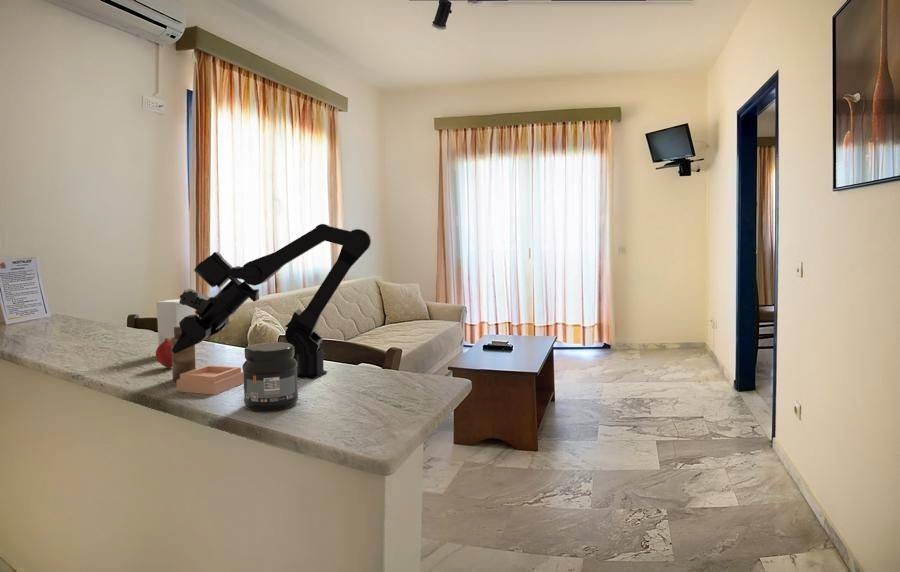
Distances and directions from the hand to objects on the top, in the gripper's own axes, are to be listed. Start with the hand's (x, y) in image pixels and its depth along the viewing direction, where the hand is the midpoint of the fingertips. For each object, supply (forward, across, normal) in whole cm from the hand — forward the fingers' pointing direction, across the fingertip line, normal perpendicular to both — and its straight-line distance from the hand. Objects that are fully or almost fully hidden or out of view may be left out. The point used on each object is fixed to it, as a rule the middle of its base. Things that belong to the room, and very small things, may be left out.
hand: (181, 347), depth 132 cm
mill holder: (-1, +8, +12) cm, 14 cm away
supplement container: (-13, +23, +24) cm, 35 cm away
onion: (+11, -12, 0) cm, 16 cm away
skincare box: (+14, -30, -3) cm, 33 cm away
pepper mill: (+5, 0, +6) cm, 8 cm away
